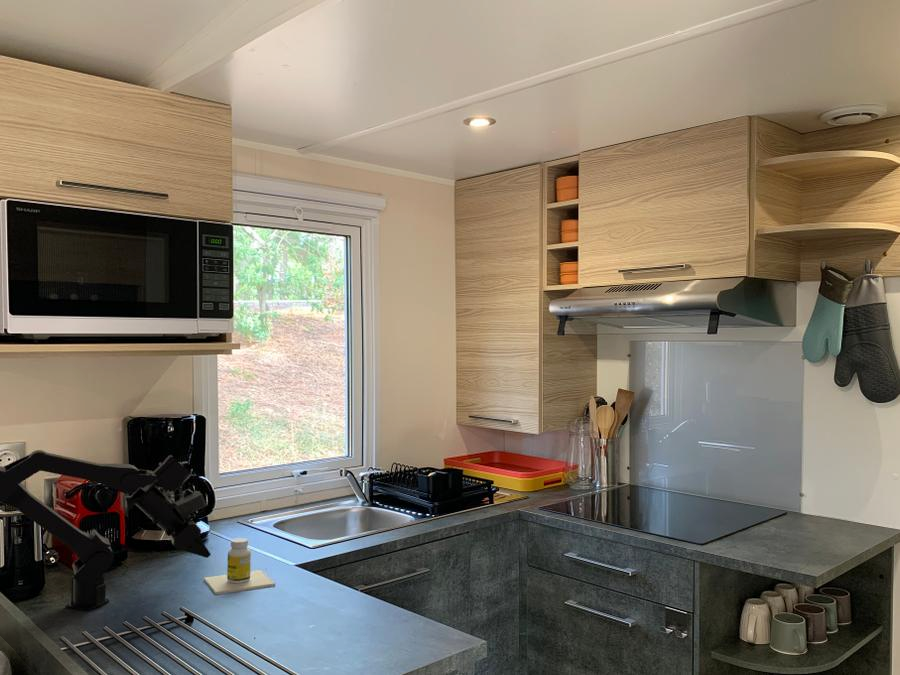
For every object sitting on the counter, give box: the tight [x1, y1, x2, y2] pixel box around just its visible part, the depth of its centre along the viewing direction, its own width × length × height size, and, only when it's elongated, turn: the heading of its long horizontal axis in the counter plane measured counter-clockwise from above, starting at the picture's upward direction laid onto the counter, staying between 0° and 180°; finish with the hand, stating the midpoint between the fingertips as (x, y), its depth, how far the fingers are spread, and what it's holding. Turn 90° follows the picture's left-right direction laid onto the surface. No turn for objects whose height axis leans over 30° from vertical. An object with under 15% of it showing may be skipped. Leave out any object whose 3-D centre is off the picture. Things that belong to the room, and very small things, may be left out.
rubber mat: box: [203, 569, 276, 595], centre depth 184 cm, size 14×12×1 cm
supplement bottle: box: [226, 537, 252, 583], centre depth 184 cm, size 5×5×10 cm
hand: (205, 550), depth 180 cm, fingers open, 9 cm apart
